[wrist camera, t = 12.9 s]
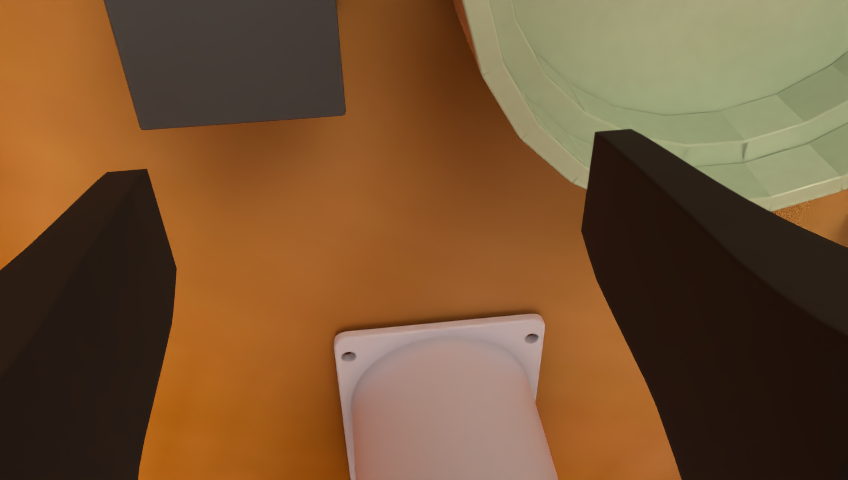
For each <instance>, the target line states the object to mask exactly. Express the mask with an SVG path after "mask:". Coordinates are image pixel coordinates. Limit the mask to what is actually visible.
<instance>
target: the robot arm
mask: <svg viewBox="0 0 848 480" xmlns="http://www.w3.org/2000/svg"><path fill="white" fill-rule="evenodd" d="M581 231H582V235H583V238H584V241H585V245H586V248H587V252H588V255H589V258H590V261H591V264H592V267H593V270H594V273H595V276H596V279H597V282H598V284H599V286H600V288H601V290H602V292H603V295H604V297H605V299H606V301H607V303H608V305H609V307H610V309H611V311H612V313H613V316H614V318H615V320H616V322H617V324H618V326H619V328H620V330H621V332H622V334H623V336H624V338H625V340H626V342H627V344H628V346H629V348H630V350H631V352H632V354H633V356H634V359H635V361H636V363H637V365H638V367H639V369H640V371H641V373H642V375H643V377H644V379H645V381H646V383H647V385H648V388H649V390H650V392H651V395H652V397H653V399H654V402H655V404H656V406H657V409H658V412H659V415H660V418H661V421H662V423H663V426H664V429H665V432H666V435H667V438H668V440H669V443H670V446H671V449H672V452H673V455H674V457H675V460H676V464H677V467H678V470H679V473H680V476H681V479H682V480H848V248H847V247H844V246H842V245H839V244H837V243H835V242H833V241H831V240H828V239H826V238H824V237H822V236H819V235H817V234H815V233H813V232H810V231H808V230H806V229H804V228H802V227H799V226H797V225H795V224H793V223H791V222H789V221H787V220H785V219H783V218H781V217H779V216H777V215H776V214H774V213H772V212H770V211H768V210H766V209H765V208H763V207H761V206H759V205H757V204H755V203H753V202H752V201H750V200H748V199H746V198H744V197H743V196H741V195H739V194H738V193H736V192H734V191H732V190H731V189H729V188H727V187H726V186H724V185H722V184H721V183H719V182H717V181H716V180H714V179H712V178H711V177H709V176H708V175H706V174H704V173H703V172H701V171H700V170H698V169H696V168H695V167H693V166H692V165H690V164H688V163H687V162H685V161H684V160H682V159H681V158H679V157H677V156H676V155H674V154H673V153H671V152H670V151H668V150H667V149H665V148H663V147H662V146H660V145H659V144H657V143H655V142H654V141H652V140H650V139H649V138H647V137H645V136H644V135H642V134H640V133H638V132H636V131H634V130H633V129H622V130H610V131H598V132H595V135H594V142H593V149H592V157H591V164H590V171H589V178H588V186H587V193H586V200H585V207H584V214H583V222H582V229H581ZM176 270H177V268H176V265H175V262H174V258H173V255H172V251H171V248H170V245H169V241H168V238H167V235H166V231H165V228H164V225H163V221H162V218H161V215H160V211H159V208H158V204H157V201H156V198H155V194H154V191H153V188H152V184H151V181H150V178H149V174H148V171H147V169H140V170H128V171H116V172H107V173H106V174H104V175H103V176H102V177H101V178H100V179H99V180H97V181H96V182H95V183H94V184H93V185H92V186H91V187H90V188H89V189H88V190H87V191H86V192H85V193H84V194H83V195H82V196H81V197H80V198H79V199H78V200H76V201H75V202H74V203H73V204H72V205H71V206H70V207H69V208H68V209H67V210H66V211H65V212H64V213H63V214H62V215H61V216H60V217H59V218H58V219H57V220H56V221H55V222H54V223H53V224H52V225H50V226H49V227H48V228H47V229H46V230H45V231H44V232H43V233H42V234H41V235H40V236H39V237H38V238H37V239H36V240H35V241H34V242H33V243H31V244H30V245H29V246H28V247H27V248H26V249H25V250H24V251H22V252H21V253H20V254H19V255H18V256H17V257H15V258H14V259H13V260H12V261H11V262H10V263H8V264H7V265H6V266H5V267H4V268H3V269H1V270H0V480H138V474H139V466H140V461H141V455H142V450H143V445H144V439H145V435H146V431H147V427H148V423H149V418H150V414H151V410H152V406H153V402H154V398H155V393H156V389H157V385H158V381H159V377H160V373H161V368H162V364H163V360H164V356H165V351H166V347H167V343H168V338H169V334H170V329H171V325H172V318H173V308H174V298H175V284H176ZM544 332H545V324H544V321H543V318H542V317H541V316H540V315H538V314H521V315H511V316H500V317H490V318H480V319H469V320H459V321H449V322H438V323H428V324H418V325H407V326H397V327H387V328H376V329H366V330H356V331H346V332H342V333H340V334H338V335H337V336H336V337H335V338H334V352H335V360H336V368H337V376H338V384H339V392H340V400H341V408H342V416H343V424H344V432H345V440H346V448H347V456H348V464H349V472H350V480H558V476H557V473H556V470H555V466H554V463H553V460H552V457H551V453H550V450H549V447H548V443H547V440H546V437H545V433H544V430H543V427H542V423H541V420H540V417H539V414H538V410H537V407H536V404H535V403H536V395H537V387H538V379H539V371H540V364H541V356H542V348H543V340H544ZM529 334H533V335H530V336H527V335H529ZM346 352H352V353H350V354H345V353H346Z"/></svg>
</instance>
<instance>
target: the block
mask: <svg viewBox="0 0 848 480" xmlns="http://www.w3.org/2000/svg"><path fill="white" fill-rule="evenodd" d="M104 3H105V7H106V10H107V14H108V17H109V21H110V24H111V28H112V31H113V35H114V38H115V42H116V45H117V49H118V52H119V56H120V59H121V63H122V66H123V70H124V73H125V77H126V80H127V84H128V87H129V91H130V94H131V98H132V101H133V105H134V108H135V112H136V115H137V119H138V123H139V126H140V128H141V129H142V130H153V129H166V128H180V127H194V126H208V125H222V124H235V123H249V122H263V121H277V120H291V119H305V118H318V117H332V116H343V115H345V112H346V108H345V97H344V86H343V74H342V63H341V51H340V40H339V29H338V17H337V6H336V0H104Z"/></svg>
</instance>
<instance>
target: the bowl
mask: <svg viewBox="0 0 848 480" xmlns="http://www.w3.org/2000/svg"><path fill="white" fill-rule="evenodd" d="M453 2H454V6H455V10H456V14H457V16H458V19H459V21H460V24H461V26H462V29H463V31H464V34H465V36H466V39H467V41H468V44H469V46H470V49H471V51H472V54H473V56H474V59H475V61H476V63H477V66H478V68H479V71H480V73H481V76H482V78H483V79H484V81H485V83H486V84H487V86H488V88H489V89H490V91H491V93H492V94H493V96H494V98H495V99H496V101H497V102H498V104H499V106H500V107H501V109H502V111H503V112H504V114H505V116H506V117H507V119H508V121H509V122H510V124H511V126H512V127H513V129H514V130H515V132H516V134H517V135H518V137H519V138H520V139H521V140H522V141H523V142H524V143H525V144H526V145H528V146H529V147H530V148H531V149H532V150H533V151H534V152H536V153H537V154H538V155H539V156H540V157H541V158H543V159H544V160H545V161H546V162H547V163H548V164H549V165H551V166H552V167H553V168H554V169H555V170H556V171H558V172H559V173H560V174H561V175H562V176H563V177H565V178H566V179H567V180H568V181H569V182H572V183H573V184H575V185H577V186H579V187H582V188H584V189H586V190H587V186H588V178H589V171H590V164H591V157H592V149H593V142H594V135H595V132H598V131H610V130H622V129H633V130H634V131H636V132H638V133H640V134H642V135H644V136H645V137H647V138H649V139H650V140H652V141H654V142H655V143H657V144H659V145H660V146H662V147H663V148H665V149H667V150H668V151H670V152H671V153H673V154H674V155H676V156H677V157H679V158H681V159H682V160H684V161H685V162H687V163H688V164H690V165H692V166H693V167H695V168H696V169H698V170H700V171H701V172H703V173H704V174H706V175H708V176H709V177H711V178H712V179H714V180H716V181H717V182H719V183H721V184H722V185H724V186H726V187H727V188H729V189H731V190H732V191H734V192H736V193H738V194H739V195H741V196H743V197H744V198H746V199H748V200H750V201H752V202H753V203H755V204H757V205H759V206H761V207H763V208H765V209H766V210H768V211H770V212H773V211H776V210H780V209H783V208H786V207H790V206H793V205H797V204H800V203H804V202H807V201H811V200H814V199H817V198H821V197H824V196H828V195H831V194H835V193H838V192H840V191H841V190H842V191H844V190H846V189H848V0H453Z"/></svg>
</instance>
